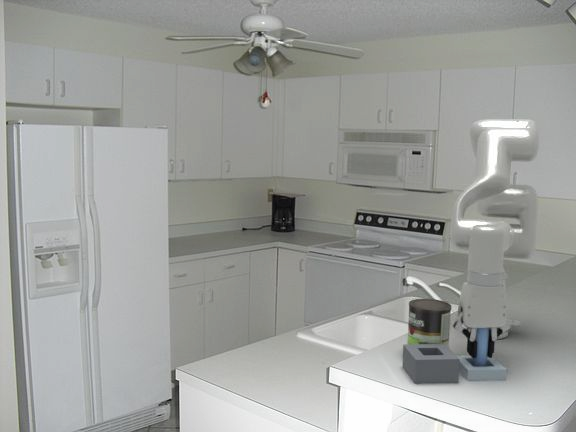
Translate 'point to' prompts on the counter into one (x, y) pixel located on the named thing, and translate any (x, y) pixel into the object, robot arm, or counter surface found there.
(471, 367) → the square frame plate
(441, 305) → the coffee can
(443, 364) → the port
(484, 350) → the plug
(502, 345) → the counter surface
